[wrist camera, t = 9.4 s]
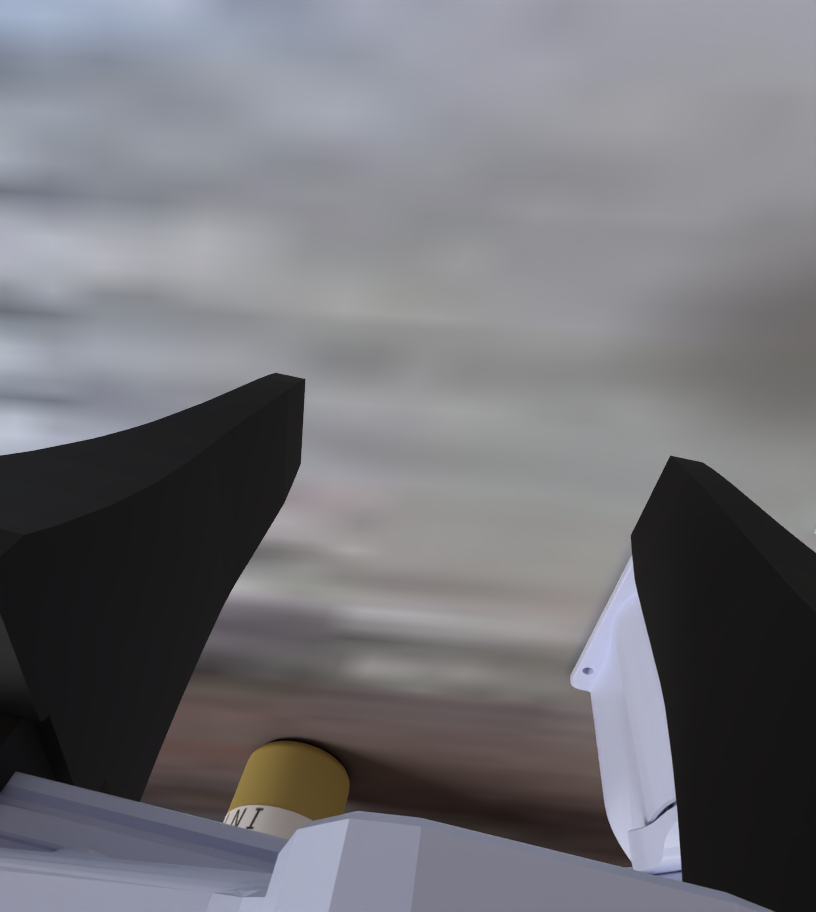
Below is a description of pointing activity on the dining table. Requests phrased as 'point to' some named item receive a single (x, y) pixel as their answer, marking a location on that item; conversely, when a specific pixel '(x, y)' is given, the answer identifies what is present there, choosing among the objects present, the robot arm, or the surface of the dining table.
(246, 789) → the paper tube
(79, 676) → the robot arm
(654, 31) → the dining table surface
